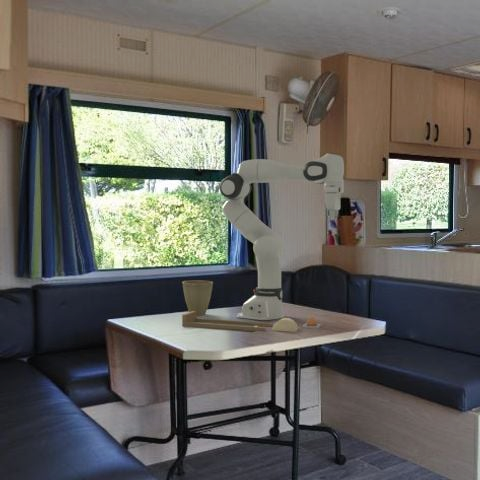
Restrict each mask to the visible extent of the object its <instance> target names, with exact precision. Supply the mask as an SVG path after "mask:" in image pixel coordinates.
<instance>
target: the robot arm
mask: <svg viewBox="0 0 480 480" xmlns="http://www.w3.org/2000/svg"><path fill="white" fill-rule="evenodd" d="M344 175H345V161H344V158H343V156H342V155H340V154H338V153H333V152H327V153H325V154H324V155H322V157H319V158H316V159H315V160H311V161H308V162H306V163H305V165H291V164H290V165H289V164H285V163H283V162H279V161H277V160H272V159H268V158H267V159H264V158H255V159H247V160H243V161H241V162H240V164H238V169H237V172H233V173H231V174H230V175H227V176H226V177H225V178H223V179H222V180H221V181H220V183H219V192H220V194H221V195H222V196H223V197H224V198H226V201H225V202H224V204H223V205H222V213H223V214H224V215H225V217H226V218H227V220H228V221H229V222H230V224H231V225H232V226H233V227H234V228H235V230H237V231H238V232H239V234H240V235H242V236H243V238H244V239H247V240H248V241H249V242H251V243H252V244H253V245H252V246H253V247H252V249H253V253H254V256H255V262H256V267H257V287H255V288H254V289H253V294H254V295H252V296H251V297H250V298H248V299H247V300H246V301H245V302H244V303H243V304H242V308H241V312H238V313H237V314H236V317H237V318H238V319H239V318H241V319H247V320H257V321H259V320H260V321H270V320H277V319H283V318H286V317H285V313H284V309H283V303H282V302H283V287H282V268H281V265H280V260H279V256H281V255H282V254H283V253H284V251H285V249H286V243H285V240H284V238H282V237H281V236H280V235H279V234H277V233H276V232H275V231H274V230H272V229H271V228H270V227H269V226H267V225H266V224H265V223H264V222H263V221H262V220H260V218H259V217H257V216H256V214H255V213H254V212H253V211H252V210H251V209H250V208H249V207H248V206H247V205H246V204H245V202H246V201H247V199H248V198H249V196H250V194H251V192H252V185H251V184H253V183H255V184H256V183H258V184H260V183H261V184H262V183H263V184H264V183H273V182H275V183H276V182H278V181H285V180H307V181H309V182H311V183H316V184H319V185H321V184H322V185H323V193H324V194H325V207H326V210H328V212H329V213H328V214H329V221H337V220H338V214H339V210H341V197H342V194H344V191H345V182H344Z"/></svg>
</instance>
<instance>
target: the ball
mask: <svg viewBox="0 0 480 480" xmlns="http://www.w3.org/2000/svg"><path fill="white" fill-rule="evenodd" d="M306 323H307V324H308V325H309V326H315V325H316V324H317V319H316V318H315V317H312V316H311V317H309V318H308V319H307V321H306Z"/></svg>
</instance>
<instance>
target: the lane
mask: <svg viewBox="0 0 480 480" xmlns="http://www.w3.org/2000/svg"><path fill="white" fill-rule="evenodd" d="M181 317H182V321H181V322H182V324H181V326H182V327H190V328H191V327H192V328H204V329H214V330H215V329H216V330H230V331H242V332H243V331H244V332H256V331H262V332H263V331H264V332H266V331H267V327H271V331H279V332H293V333H295V332H296V331H298V330H299V326H298V323H297V322H296V321H295V320H294V319H292V318H289V317H283V318H280V319H279V320H277V321H276V322H275V323H273V322H259V321H244V320H227V319H215V318H203V317H202V318H201V317H200V318H198V317H197V316H196V311H191V312H189V311H188V312H185V313H183V314H182V316H181Z"/></svg>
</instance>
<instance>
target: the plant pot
mask: <svg viewBox="0 0 480 480" xmlns="http://www.w3.org/2000/svg"><path fill="white" fill-rule="evenodd" d="M181 283H182V289H183V295H184V301H185V303H186V308H187V310H188V313H189V312H191V311H196V317H198V316H199V317H200V316H205V315H206V313H207V310H208V307H209V305H210V300H211V297H212V291H213V286H214V282H213V281H210V280H201V279H198V280H197V279H196V280H195V279H193V280H184V281H182V282H181Z"/></svg>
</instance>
